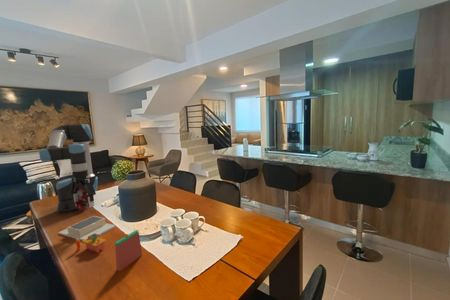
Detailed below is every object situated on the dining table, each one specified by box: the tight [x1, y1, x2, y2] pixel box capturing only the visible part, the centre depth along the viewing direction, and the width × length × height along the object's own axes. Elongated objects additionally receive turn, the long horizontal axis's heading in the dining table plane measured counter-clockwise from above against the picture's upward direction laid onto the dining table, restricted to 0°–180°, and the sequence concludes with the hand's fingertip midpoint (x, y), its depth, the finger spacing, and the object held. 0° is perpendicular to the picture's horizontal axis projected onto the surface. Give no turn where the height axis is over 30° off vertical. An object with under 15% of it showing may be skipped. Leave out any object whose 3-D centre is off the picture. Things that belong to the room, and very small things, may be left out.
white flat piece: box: [58, 215, 117, 242], centre depth 129 cm, size 18×26×5 cm
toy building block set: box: [75, 229, 143, 272], centre depth 104 cm, size 12×35×14 cm, turn 64°
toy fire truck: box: [74, 190, 94, 211], centre depth 126 cm, size 7×12×10 cm, turn 56°
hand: (84, 205), depth 127 cm, fingers closed on toy fire truck, 12 cm apart
